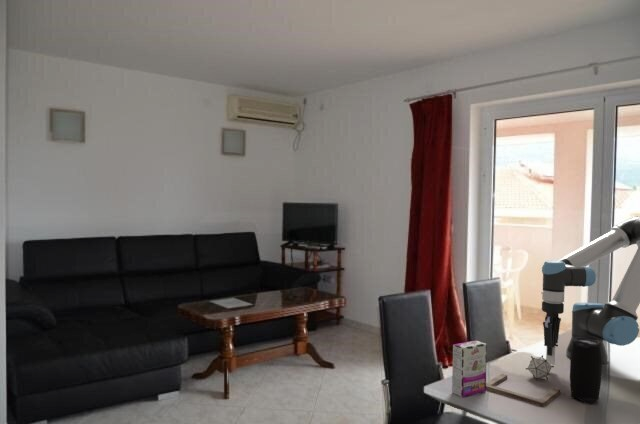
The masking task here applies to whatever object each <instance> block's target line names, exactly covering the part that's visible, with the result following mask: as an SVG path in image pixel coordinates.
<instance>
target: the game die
mask: <svg viewBox="0 0 640 424" xmlns="http://www.w3.org/2000/svg"><path fill="white" fill-rule="evenodd" d="M530 358H531V359H530V361H529V365H528V366H527V367H525V370H528V371H529V372H530V373H531V374H532V376H533V377H535V378H536V379H535V380H536V381H538V380H539V379H545V378H546V379H547V380H549V378H548V376H551V374H550V372H551V370H552V368H554V367H555V366H554V365H552V364H549V363H548V362H547V360H546V358H544V355H543V354H542V355H541V356H540V357H533V356H530Z"/></svg>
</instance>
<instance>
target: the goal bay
mask: <svg viewBox="0 0 640 424" xmlns="http://www.w3.org/2000/svg"><path fill="white" fill-rule="evenodd" d="M507 379H508V375H507V374H504V373H501V374H499V375H497V376H496V377H494V378H492V379H490V380H488V381H486V391H490V392H492V393H497V394H499V395H503V396H507V397H509V398H513V399H516V400H519V401H522V402H526V403H529V404H532V405H535V406H539V407H545V406H546V405H547V404H549V403H550V402H551V401H553V400H554V399H555V398H556V397H558V396H559V395H560V394H561V389H559V388H556V387H554V388H552V389H551V390H549V391H548V392H547V393H545V394H544V395H543V396H541V397H540V398H536V397H532V396H529V395H525V394H522V393H519V392H515V391H512V390H508V389H505V388H502V387H498V386H497V385H499V384H500V383H502V382H504V381H505V380H507Z"/></svg>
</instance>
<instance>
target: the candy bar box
mask: <svg viewBox="0 0 640 424" xmlns="http://www.w3.org/2000/svg"><path fill="white" fill-rule="evenodd" d="M487 346H488V345H487V343H486V342H483V341H479V340H476V339H475V340H473V341H472V340H471V341H466V342H460V343H455V344H452V374H451V375H452V377H451V378H452V381H451V386H452V387H451V391H452V392H451V393H452V394H454V395H456V396H458V397H460V398H462V399H463V398H468V397H472V396H476V395H479V394H483V393H486V392H487V390H486V383H487V351H488V350H487V348H488V347H487Z"/></svg>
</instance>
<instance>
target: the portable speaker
mask: <svg viewBox="0 0 640 424" xmlns="http://www.w3.org/2000/svg"><path fill="white" fill-rule="evenodd" d="M600 346H601V343H600V341H599V340H591V339H587V338H585V337H575V338H574V341H573V345H572V351H571V358H570V364H569V387H570V392H571V393H570V394H571V395H570V397H571V399H578V400H580V401H581V402H582V404H583V403H584V404H586V405H594V404H595V405H596V403H597V402H598V400H599V399H600V394H601V393H600V392H601V385H602V372H603V371H602V368H603V367H602V366H603V364H602V356H601V348H600Z"/></svg>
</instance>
